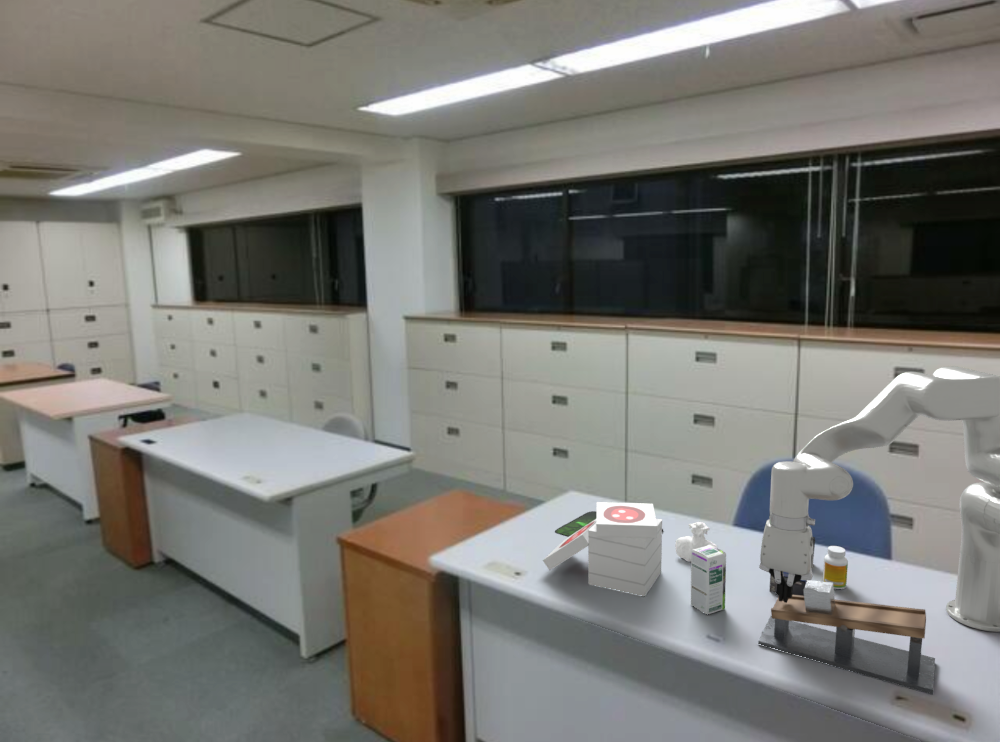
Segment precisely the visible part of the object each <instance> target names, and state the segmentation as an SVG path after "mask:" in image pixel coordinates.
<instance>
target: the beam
mask: <svg viewBox="0 0 1000 742" xmlns="http://www.w3.org/2000/svg"><path fill="white" fill-rule="evenodd" d="M770 613H771V615H770V616H772V618H774V619H782V620H789V621H794V622H798V623H803V624H813V625H818V626H819V625H821V626H825V627H827V626H829V627H833V628H834V627H835V628H836V627H840V629H841V631H843V632H846V631H847V628H849V629H855V631H856V630H857V631H865V632H872V633H879V634H886V635H887V634H888V635H894V636H902V637H916V638H922V640H924V639H925V638H926V623H927V613H926V609H925V608H924V609H923V608H915V607H905V606H896V605H888V604H879V603H871V602H863V601H851V600H842V599H835V608H834V611H833V614H832V615H826V614H818V613H810V612H806V609H805V600H804V596H800V595H792V598H789V599H788V601H787V603H785V602H784V601H779V595H777V599H776V601H775V603H774V605H773V607H771V608H770Z"/></svg>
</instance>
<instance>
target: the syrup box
mask: <svg viewBox="0 0 1000 742" xmlns="http://www.w3.org/2000/svg"><path fill="white" fill-rule="evenodd" d="M690 566H691V567H690V572H691V573H690V606H692V607H693V606H694V608H695V609H696V608H697V609H696V610H698V609H699V610H700V611H699V610H698V611H699V612H701V611H702V612H701V613H703V612H704V613H705V614H704V613H703V614H704V615H706V614H707V616H709V615H711V614H714V613H717V612H719V611H723V610H725V609H726V581H727V579H726V573H727V553H726V552H725V551H724V550H723V549H720V548H719V547H718V548H716V547H714V546H711V545H707V546H705V547H701V548H697V549H693V550H691V562H690ZM708 614H709V615H708Z"/></svg>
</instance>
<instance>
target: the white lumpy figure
mask: <svg viewBox="0 0 1000 742" xmlns="http://www.w3.org/2000/svg"><path fill="white" fill-rule="evenodd" d="M688 527H689V529H691V530H690V532H691V534H692V536H690V535H687V536H681V537H678V538H677V539H676V540H675V553H676V554H677V556H678V557H679V558H681V559H683V560H685V561H686V562H688V563H689V562H690V563H691V550H693V549H697V548H701V547H705V546H707V545H711V546H714V547H716V548H718V549H719V547H718V545H717V544H716V543H714V542H712V541H711V540H708V539H706V536H705V535H708V531H710V529H711V528H710V527H709V526H708V525H707V524H706V523H705V522H702V521H696V522H694V523H688Z"/></svg>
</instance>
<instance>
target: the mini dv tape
mask: <svg viewBox="0 0 1000 742" xmlns="http://www.w3.org/2000/svg"><path fill="white" fill-rule="evenodd" d="M769 575H770V576H769V592H772V593H775V594H776V592H777V583H776V582H775V579H774V578H773V577H772V576H771V574H770V573H769ZM783 575H784V579H785V580H787V579H788V575H789V573H788V572H783ZM807 581H808V580H799V581H798V582H796V583H795V584H793V592H792V595H800V596H804V588H805V585H806V583H807Z"/></svg>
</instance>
